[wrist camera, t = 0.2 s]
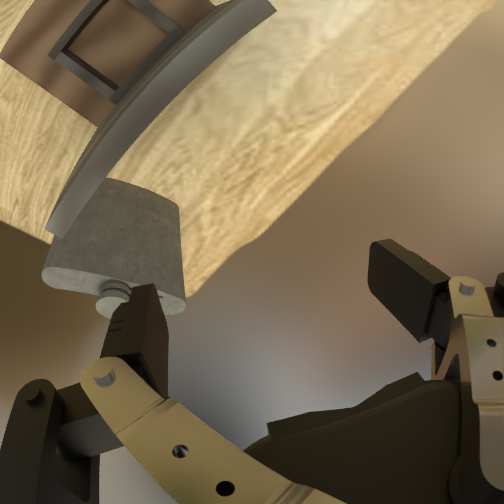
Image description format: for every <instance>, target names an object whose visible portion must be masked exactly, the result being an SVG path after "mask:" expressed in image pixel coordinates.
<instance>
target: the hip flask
mask: <svg viewBox="0 0 504 504" xmlns="http://www.w3.org/2000/svg"><path fill="white" fill-rule="evenodd" d="M42 279H43V280H44V282H45V283H46V284H47V285H49V286H51V287H53V288H57V289H64V290H71V291H78V292H84V293H89V294H94V295H98V297H97V301H96V309H97V311H98V312H99V313H100V314H102V315H103V316H105V317H107V318H111V317H112V314H113V312H114V311H115V309H116V308H117V307H118V306H119V305H120V304H121V303H124V302H129V298H130V294H131V291H132V287H134V286H139V285H145V284H151V283H154V284H155V286H156V289H157V293H158V296H159V299H160V303H161V306H162V309H163V312H164V314H168V315H174V314H178V313H181V312H182V311H183V310H184V309H185V308H186V300H185V289H184V278H183V266H182V253H181V239H180V223H179V208H178V206H177V204H175V203H174V202H172V201H170V200H168V199H167V198H165V197H163V196H161V195H158V194H156V193H154V192H151V191H149V190H147V189H144V188H141V187H138V186H135V185H132V184H129V183H126V182H122V181H119V180H115V179H110V178H104V180H103V181H102V182H101V184H100V185H99V186H98V188H97V189H96V191H95V192H94V193H93V195H92V196H91V197H90V199H89V200H88V202H87V203H86V204H85V206H84V207H83V209H82V210H81V212H80V213H79V215H78V216H77V218H76V219H75V221H74V222H73V224H72V225H71V227H70V228H69V230H68V231H67V233H66V234H65V236H64V237H63V239H61V238H59V237H58V236H56V235H55V236H54V238H53V241H52V244H51V246H50V249H49V252H48V256H47V258H46V261H45V264H44V267H43V270H42Z"/></svg>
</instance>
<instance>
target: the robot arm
mask: <svg viewBox="0 0 504 504" xmlns="http://www.w3.org/2000/svg"><path fill="white" fill-rule="evenodd" d="M368 285H369V289H370V291H371V293H372V294H373V295H374V296H375V297H376V298H377V299H378V300H379V301H380V302H381V303H382V304H383V305H384V306H385V307H386V308H387V309H388V310H389V311H390V312H391V313H392V314H393V315H394V316H395V317H396V318H397V320H398V321H400V323H401V324H402V325H403V326H404V327H405V328H406V329H407V330H408V331H409V332H410V333H411V334H412V335H413V336H414V337H415V339H416V340H417V341H418V342H419V343H420V342H422V341H425V340H427V339H429V338H433V339H434V340H433V343H432V346H431V380H428V381H424V379H423V378H422V377H421V376H420V375H419V373H418V372H416V373H414V374H411V375H409V376H407V377H405V378H402V379H400V380H398V381H395V382H393V383H391V384H388V385H386V386H385V387H383V388H382V389H381V390H379V391H378V392H376V393H375V394H374V395H372V396H371V397H369V398H368V399H366V400H365V401H363V402H362V403H360V404H359V405H357V406H355V407H352V408H344V409H336V410H326V411H316V412H308V413H305V414H301V415H297V416H293V417H289V418H286V419H282V420H278V421H274V422H269V423H267V428H268V435H267V436H265V437H263V438H261V439H259V440H258V441H256V442H255V443H253V444H251V445H250V446H249V447H247V448H246V449H245V450H243V451H242V450H240V449H239V448H237V447H236V446H234V445H233V444H232V443H230V442H229V441H227V440H226V439H225V438H223V437H222V436H221V435H219V434H218V433H216V432H215V431H214V430H213V429H211V428H210V427H209V426H207V425H206V424H204V423H203V422H202V421H201V420H200V419H198V418H197V417H196V416H195V415H193V414H192V413H191V412H190V411H188V410H187V409H186V408H185V407H183V406H182V405H181V404H180V403H179V402H177V401H176V400H175V399H173V398H172V397H168V344H169V341H168V340H169V334H168V327H167V322H166V319H165V316H164V312H163V309H162V306H161V303H160V299H159V296H158V293H157V289H156V286H155V284H154V283H151V284H145V285H139V286H134V287H132V291H131V294H130V298H129V302H124V303H121V304H120V305H119V306H118V307H117V308H116V309H115V311H114V312H113V314H112V317H111V320H110V324H109V327H108V332H107V334H106V338H105V341H104V345H103V348H102V352H101V356H100V359H98V360H96V361H94V362H92V363H91V364H89V365H88V366H87V367H86V368H85V369H84V371H83V372H82V374H81V378H80V383H77V384H74V385H72V386H69V387H66V388H62V389H60V390H56V388H55V387H54V385H53V384H52V383H51V382H50V381H48V380H46V379H36V380H33V381H31V382H29V383H27V384H26V385H24V387H22V389H21V390H20V391H19V392H18V394H17V396H16V399H15V401H14V404H13V408H12V411H11V414H10V417H9V420H8V424H7V427H6V431H5V434H4V438H3V441H2V445H1V449H0V504H99V465H100V454H101V453H104V452H107V451H110V450H113V449H116V448H119V447H122V446H125V447H126V448H127V449H128V451H129V452H130V453H131V454H132V455H133V456H134V458H135V459H136V460H137V461H138V462H139V463H140V465H141V466H142V467H143V468H144V469H145V470H146V471H147V472H148V473H149V475H150V476H151V477H152V478H153V479H154V480H155V481H156V482H157V483H158V484H159V485H160V486H161V487H162V488H163V489H164V490H165V491H166V492H167V493H168V494H169V495H170V496H171V497H172V498H173V499H174V500H175V501H176V502H177V503H179V504H504V273H500V274H499V275H498V276H497V279H496V283H495V286H494V287H486V288H484V286H483V285H482V284H481V283H480V282H479V281H477V280H475V279H473V278H470V277H465V276H456V277H453V278H450V277H449V276H447V275H446V274H445V273H443V272H442V271H440V270H439V269H438V268H436V267H435V266H433V265H432V264H431V265H430V263H429V262H427V261H426V260H423V258H422V257H420V256H419V255H417V254H416V253H414V252H412V251H409V250H407V249H405V248H404V247H402V246H401V245H399V244H398V243H396V242H395V241H393V240H392V239H385V240H380V241H375V242H373V243H372V244H371V246H370V254H369V267H368Z"/></svg>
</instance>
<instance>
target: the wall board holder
mask: <svg viewBox="0 0 504 504" xmlns="http://www.w3.org/2000/svg"><path fill="white" fill-rule="evenodd" d="M276 11H277V10H276V9H275V8H274V7H273V6H272V4H271V3H270V2H269V1H268V0H230V1H228V2H225V3H223V4H220V5H218V6H216V7H215V6H214V5H213V4H212V3H211V2H210V1H209V0H35V1H34V2H33V3H32V5H31V6H30V8H29V9H28V10H27V12H26V13H25V15H24V16H23V17H22V19H21V20H20V22H19V23H18V25H17V26H16V28H15V30H14V31H13V33H12V34H11V36H10V38H9V39H8V41H7V42H6V44H5V46H4V48H3V49H2V51H1V53H0V58H1V59H2V60H4V61H5V62H6V63H8V64H9V65H11V66H12V67H14V68H15V69H16V70H18V71H19V72H21V73H22V74H24V75H25V76H26V77H28V78H29V79H31V80H32V81H34V82H35V83H36V84H38V85H39V86H41V87H42V88H43V89H45V90H46V91H48V92H49V93H51V94H52V95H53V96H55V97H56V98H58V99H59V100H60V101H62V102H63V103H65V104H66V105H67V106H69V107H70V108H72V109H73V110H75V111H76V112H77V113H79V114H80V115H82V116H83V117H84V118H86V119H87V120H89V121H90V122H91V123H93V124H94V125H95V126H97V127H98V129H97V130H96V132H95V133H94V135H93V137H92V138H91V140H90V141H89V143H88V145H87V146H86V148H85V150H84V152H83V153H82V155H81V157H80V158H79V160H78V162H77V164H76V166H75V167H74V169H73V171H72V173H71V175H70V177H69V179H68V181H67V182H66V184H65V186H64V188H63V190H62V192H61V194H60V196H59V198H58V200H57V203H56V205H55V207H54V209H53V211H52V213H51V215H50V218H49V220H48V222H47V225H46V227H45V229H46V230H47V231H49V232H51V233H53V234H54V235H56V236H58V237H59V238H61V239H63V237H64V236H65V234H66V233H67V231H68V230H69V228H70V227H71V225H72V224H73V222H74V221H75V219H76V218H77V216H78V215H79V213H80V212H81V210H82V209H83V207H84V206H85V204H86V203H87V202H88V200H89V199H90V197H91V196H92V195H93V193H94V192H95V191H96V189H97V188H98V186H99V185H100V184H101V182H102V181H103V180H104V178H105V177H106V176H107V175H108V173H109V172H110V171H111V169H112V168H113V167H114V166H115V164H116V163H117V162H118V161H119V159H120V158H121V157H122V156H123V154H124V153H125V152H126V151H127V150H128V148H129V147H130V146H131V145H132V144H133V143H134V141H135V140H136V139H137V138H138V137H139V136H140V134H141V133H142V132H143V131H144V130H145V129H146V128H147V127H148V125H149V124H150V123H151V122H152V121H153V120H154V119H155V118H156V117H157V116H158V115H159V114H160V112H161V111H162V110H163V109H164V108H165V107H166V106H167V105H168V104H169V103H170V102H171V101H172V100H173V99H174V98H175V97H176V96H177V95H178V94H179V93H180V92H181V91H182V90H183V89H184V88H185V87H186V86H187V85H188V84H189V83H190V82H191V81H192V80H193V79H195V78H196V77H197V76H198V75H199V74H200V73H201V72H202V71H203V70H204V69H205V68H206V67H208V66H209V65H210V64H211V63H212V62H213V61H214V60H215V59H217V58H218V57H219V56H220V55H221V54H222V53H224V52H225V51H226V50H227V49H228V48H229V47H231V46H232V45H233V44H234V43H236V42H237V41H238V40H239V39H240V38H242V37H243V36H244V35H245V34H247V33H248V32H249V31H251V30H252V29H253V28H255V27H256V26H257V25H258V24H260V23H261V22H263V21H264V20H265V19H267V18H268V17H269V16H271V15H272V14H274V13H275V12H276Z"/></svg>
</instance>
